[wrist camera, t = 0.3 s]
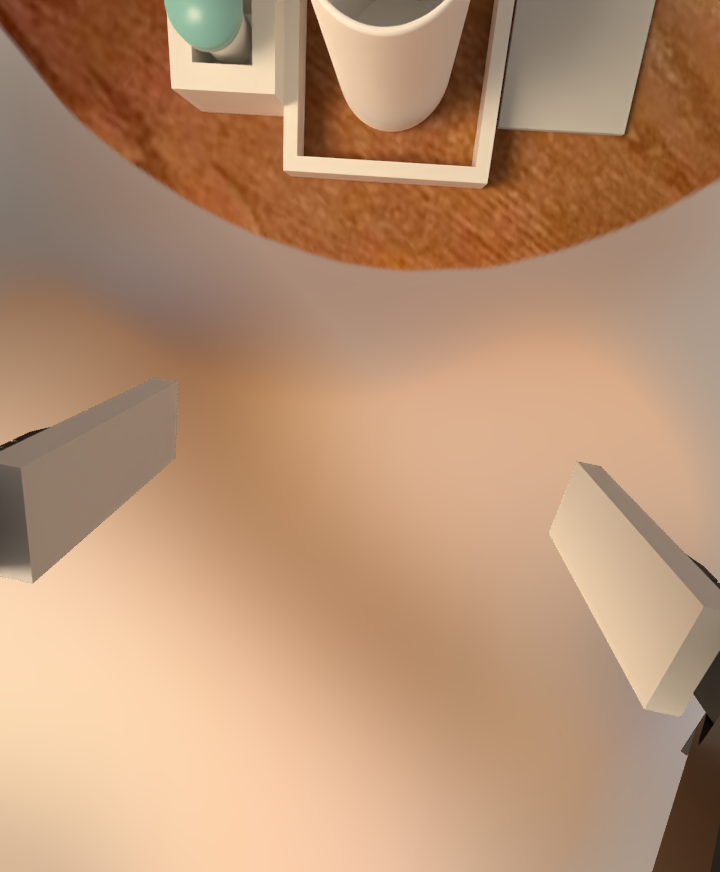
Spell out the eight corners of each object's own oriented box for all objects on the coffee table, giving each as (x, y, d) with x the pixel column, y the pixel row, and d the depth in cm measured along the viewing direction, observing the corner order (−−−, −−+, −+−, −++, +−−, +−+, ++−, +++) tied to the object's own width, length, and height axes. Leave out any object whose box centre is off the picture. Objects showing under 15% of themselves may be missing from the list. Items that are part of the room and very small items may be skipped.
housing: (193, -79, 31) (157, -139, 27) (518, -67, 30) (540, -127, 26) (204, 170, 37) (176, 157, 32) (481, 188, 36) (493, 177, 31)
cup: (315, 56, 34) (247, -110, 19) (407, -38, 31) (413, -312, 16) (382, 157, 35) (369, 80, 21) (474, 76, 33) (534, -78, 18)
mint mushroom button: (196, -6, 30) (160, -53, 26) (262, -3, 30) (238, -50, 25) (200, 75, 32) (167, 44, 27) (262, 79, 32) (239, 48, 27)
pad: (520, -28, 31) (522, -32, 31) (657, -22, 31) (661, -26, 30) (497, 128, 34) (498, 126, 34) (621, 135, 34) (624, 134, 33)
